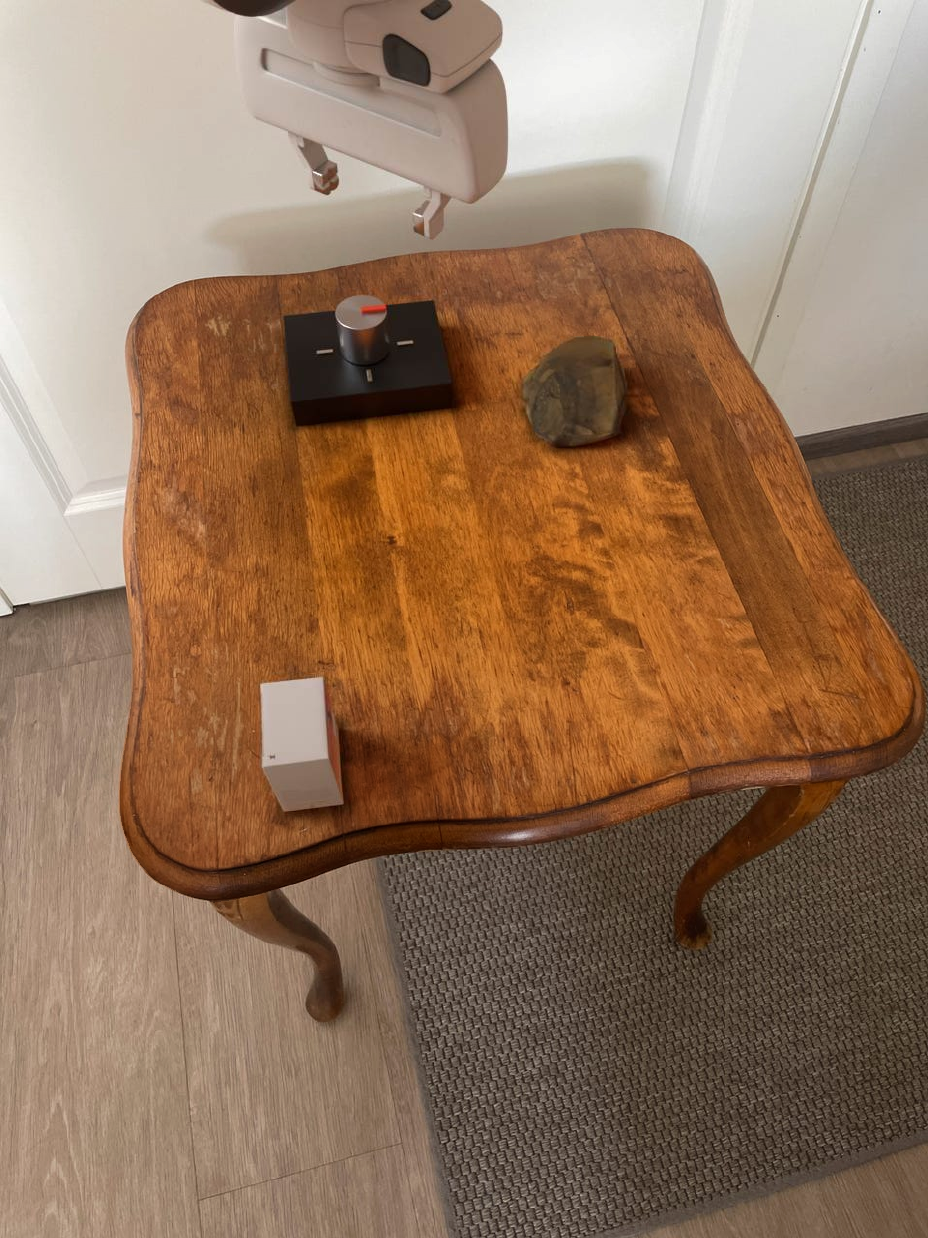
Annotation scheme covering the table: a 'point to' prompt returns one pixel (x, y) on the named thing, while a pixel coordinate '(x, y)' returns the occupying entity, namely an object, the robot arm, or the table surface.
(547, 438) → the decorative stone
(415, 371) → the panel
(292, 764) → the small box
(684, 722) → the table surface
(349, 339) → the dial
